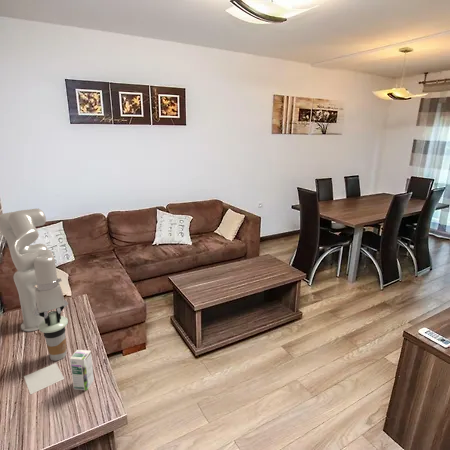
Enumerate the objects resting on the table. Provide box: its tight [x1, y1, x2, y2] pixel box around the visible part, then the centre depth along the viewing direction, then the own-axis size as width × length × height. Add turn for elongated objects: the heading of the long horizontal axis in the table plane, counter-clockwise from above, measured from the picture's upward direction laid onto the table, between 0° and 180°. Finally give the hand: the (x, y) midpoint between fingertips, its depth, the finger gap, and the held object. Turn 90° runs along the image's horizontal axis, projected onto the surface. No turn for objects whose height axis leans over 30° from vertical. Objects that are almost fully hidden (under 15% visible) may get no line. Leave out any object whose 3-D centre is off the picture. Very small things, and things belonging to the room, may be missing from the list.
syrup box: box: [69, 349, 95, 391], centre depth 119 cm, size 6×6×14 cm
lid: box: [38, 310, 69, 334], centre depth 131 cm, size 11×11×6 cm
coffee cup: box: [43, 326, 67, 362], centre depth 134 cm, size 8×8×15 cm
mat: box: [23, 362, 65, 396], centre depth 123 cm, size 12×12×1 cm
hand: (53, 322), depth 131 cm, fingers closed on lid, 3 cm apart
